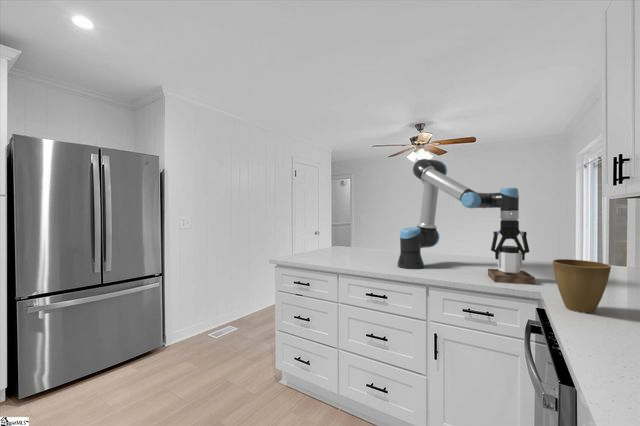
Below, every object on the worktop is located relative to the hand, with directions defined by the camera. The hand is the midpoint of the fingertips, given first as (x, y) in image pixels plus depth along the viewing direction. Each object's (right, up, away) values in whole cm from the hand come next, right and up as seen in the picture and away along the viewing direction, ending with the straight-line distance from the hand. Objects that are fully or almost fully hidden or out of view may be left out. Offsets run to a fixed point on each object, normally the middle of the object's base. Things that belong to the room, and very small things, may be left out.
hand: (509, 266), depth 145 cm
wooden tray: (0, -6, 0) cm, 6 cm away
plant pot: (-4, -7, -44) cm, 44 cm away
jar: (0, -3, 0) cm, 3 cm away
